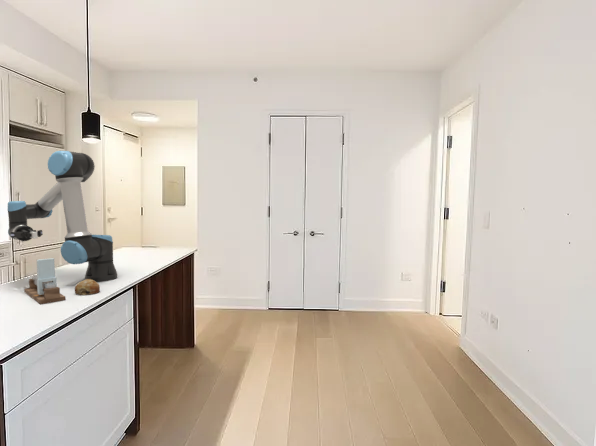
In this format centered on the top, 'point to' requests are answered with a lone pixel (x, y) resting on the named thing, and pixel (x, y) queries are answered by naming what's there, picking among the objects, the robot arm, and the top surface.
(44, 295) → the base board
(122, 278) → the top surface
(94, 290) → the bread roll
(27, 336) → the top surface
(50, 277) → the slotted grey-blue plate
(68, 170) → the robot arm
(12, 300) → the top surface
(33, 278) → the grey square bar
